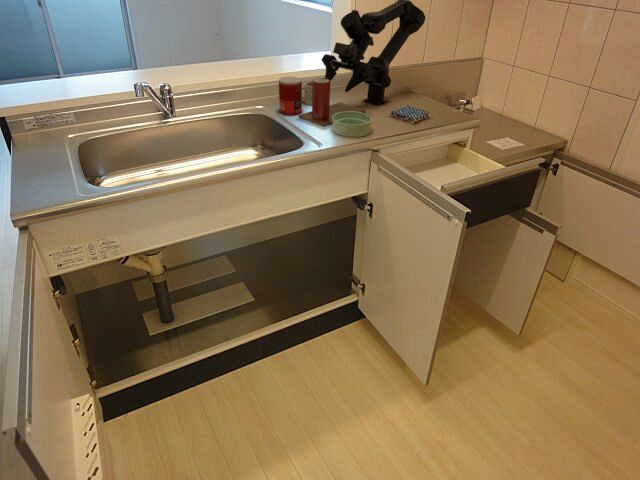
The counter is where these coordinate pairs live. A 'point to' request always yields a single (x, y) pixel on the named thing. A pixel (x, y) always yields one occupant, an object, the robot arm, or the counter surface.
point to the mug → (307, 93)
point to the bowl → (351, 124)
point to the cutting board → (330, 114)
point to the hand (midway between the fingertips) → (335, 88)
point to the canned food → (290, 95)
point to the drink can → (320, 98)
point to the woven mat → (409, 114)
